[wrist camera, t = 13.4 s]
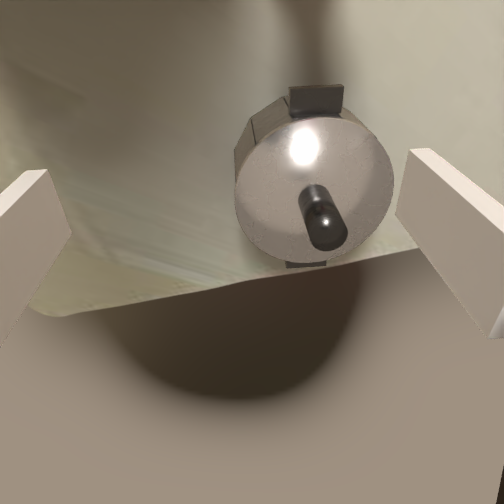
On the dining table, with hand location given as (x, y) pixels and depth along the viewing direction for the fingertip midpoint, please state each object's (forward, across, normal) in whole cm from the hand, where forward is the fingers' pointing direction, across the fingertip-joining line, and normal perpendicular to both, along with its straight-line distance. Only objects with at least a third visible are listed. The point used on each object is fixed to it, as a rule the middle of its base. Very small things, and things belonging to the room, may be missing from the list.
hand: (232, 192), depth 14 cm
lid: (+24, +8, -12) cm, 28 cm away
